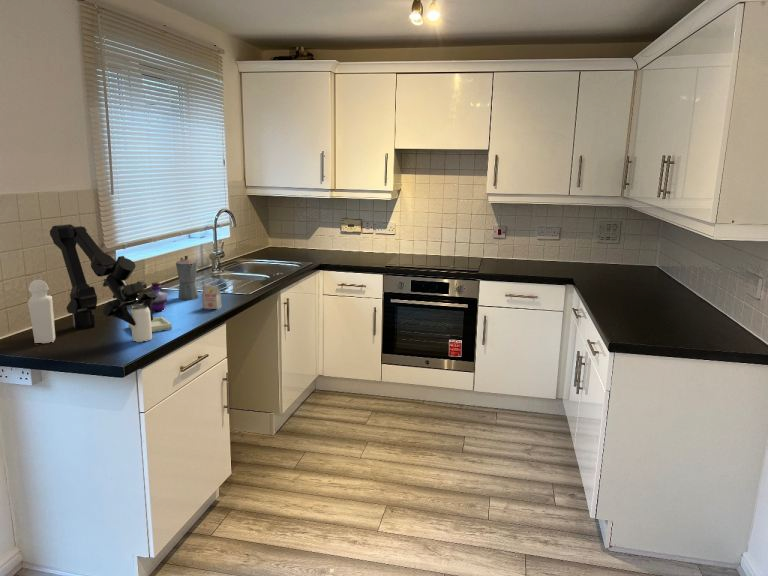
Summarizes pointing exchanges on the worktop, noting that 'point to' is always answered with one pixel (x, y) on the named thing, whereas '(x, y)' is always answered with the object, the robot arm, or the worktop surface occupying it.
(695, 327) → the worktop surface
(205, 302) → the cream paper food packet
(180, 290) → the moka pot
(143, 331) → the can
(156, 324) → the tray
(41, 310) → the white bottle
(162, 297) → the potion bottle
